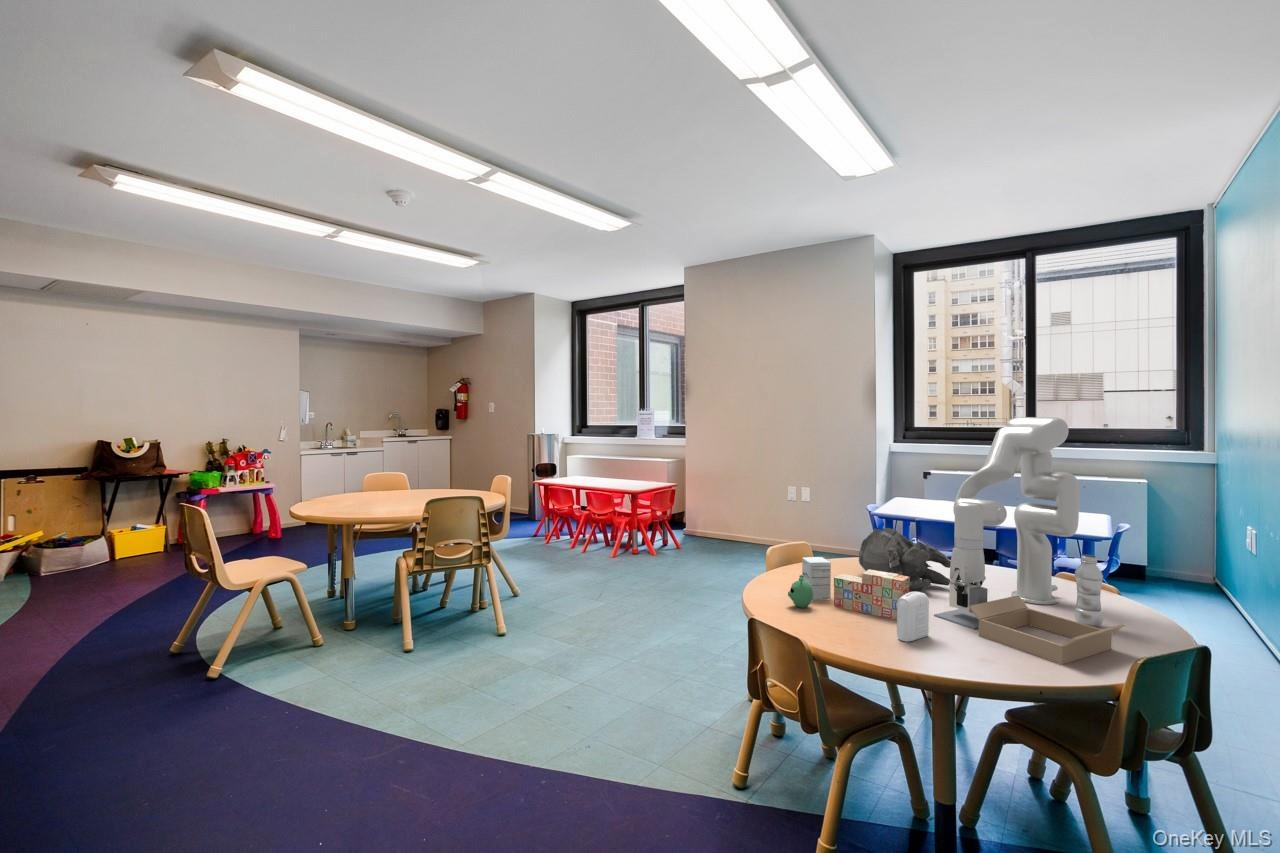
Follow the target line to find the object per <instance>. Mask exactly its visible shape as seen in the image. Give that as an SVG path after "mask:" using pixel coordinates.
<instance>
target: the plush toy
mask: <svg viewBox="0 0 1280 853" xmlns="http://www.w3.org/2000/svg"><path fill="white" fill-rule="evenodd" d="M872 529H873V530H872V532H870V533H869V534H868V535H867V537H866V538H864V539H863V540H862V543H861V544H860V549H859V552H858V562H859V565H860V566H861V567H862V569H863V570H864V572H866V571H867V570H869V569H870V570H875V571H881V572H887V573H895V574H899V575H903V576H908V577H910V580H909V587H910V589H909V590H911V591H912V590H913V591H912V592H921V591H923V590H925V589H927V588H930V587H931V584H933V585H940V586H950V582H951V580H950V578H948V577H946V576H945V575H943V573H941V572H939V571H936V570H934V569H931V568H932V566H931V565H930V564H928V562H933V563H938V564H941V565H942V566H943V567H944V568H949V569H950V564H951V559H950V558H948V557H947V556H946V554H944V553H942V552H941V551H940V550H938V549H937V548H935V547H934V546H931V545H929V544H924V543H922V542H920V541H918V540H917V542H913V541H912V540H911V539H908V538H907V537H906V536H905V535H903V534H901V533H900V532H899V531H897V530H895V529H894V528H891V527H883V528H881V529H878V528H872Z"/></svg>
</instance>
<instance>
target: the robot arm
mask: <svg viewBox="0 0 1280 853" xmlns="http://www.w3.org/2000/svg"><path fill="white" fill-rule="evenodd" d="M1068 435H1069V425H1068V423H1067V422H1066V421H1065V420H1064V419H1062V418H1060V417H1049V416H1048V417H1042V416H1041V417H1039V416H1038V417H1037V416H1036V417H1035V416H1034V417H1033V416H1031V417H1030V416H1026V417H1025V416H1023V417H1015V418H1011V419H1009V420H1008V421H1007V422H1006V426H1004V427H1001V428H999V429H998V430H997V431H996V433H995V435H994V438H993V441H992V443H991V446H990V449H989V451H988V454H987V457H986V459H985V462H984V464H983V466H982V467H981V468H979V470H977V471H975V472H973V473H972V474H971V475H970V476H969V477H968V478H967V479H965V480H964V481H963V482H962V484H961V485H960V487H959V489H958V491H957V494H956V496H955V500H954V502H953V511H952V512H953V514H954V535H953V536H954V546H953V548H952V553H951V557H950V558H951V559H950V561H951V564H950V568H949V579H950V581H951V582H950V584H951V585H952V586H953V587H954V588H955V591H956V592H957V605H959V606H962V607H965V608H966V607H968V594H966V591H967V585H968V584H973V585H976V586H980V587H983V583H984V581H986V576H985V574H986V566H985V564H986V562H985V554H984V526H986V527H997V526H999V525H1001V524H1003V523H1004V522H1005V520H1006V519H1007V516H1008V514H1007V513H1008V512H1007V508H1006V507H1005V505H1003V504H1002V503H1001V502H998V501H995V500H990V499H989V500H988V499H983V498H982V499H981V498H975V497H976V496H977V495H978V493H979V492H981V491H982V490H984V489H986V488H987V487H990V486H994V485H996V484H1000V483H1003V482H1006V481H1009V480H1011V479H1012V478H1013V477H1014V476H1015V474H1016V471H1017V468H1018V466H1019V462H1020V463H1021V464H1020V492H1021V494H1022V495H1023V496H1024V497H1026V498H1029V499H1034V500H1043V501H1049V502H1050V501H1051V502H1056V505H1054V504H1047V503H1046V504H1045V503H1039V502H1022V503H1020V504H1019V505H1017V506H1016V507H1015V509H1014V512H1013V517H1014V519H1013V520H1014V525H1015V530H1016V537H1017V538H1016V540H1017V542H1016V544H1017V549H1016V550H1017V551H1016V552H1017V553H1016V554H1017V555H1016V556H1017V558H1016V560H1017V561H1016V564H1017V566H1016V573H1017V574H1016V590H1013V591H1011V597H1013V596H1018V595H1019V597H1020V598H1021V599H1022V601H1024V603H1027V604H1028V603H1030V604H1035V605H1055V604H1056V603H1058V597H1056V596H1055V595H1053V594H1052V593H1053V592H1056V591H1058V586H1057V585H1056V584H1052V575H1053V573H1052V572H1053V568H1052V567H1053V566H1052V565H1053V559H1052V558H1053V557H1052V556H1053V549H1052V548H1053V547H1052V544H1051V542H1050V540H1049V539H1048V537H1047V535H1051V536H1055V537H1062V538H1063V537H1064V538H1068V537H1069V538H1070V537H1072V536H1074V535H1076V533H1077V531H1078V527H1079V518H1080V484H1079V481H1078V479H1077V477H1076V476H1075V475H1074V474H1072V473H1070V472H1067V471H1056V470H1055V471H1054V470H1053V455H1052V453H1051V451H1052V450H1053V449H1055V448H1057V447H1059V446H1061V445H1062V444H1063V443H1065V441H1066V440H1067V439H1068ZM950 584H949V585H950ZM960 584H962V585H963V588H962V587H961V585H960Z"/></svg>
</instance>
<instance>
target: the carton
mask: <svg viewBox="0 0 1280 853" xmlns="http://www.w3.org/2000/svg"><path fill="white" fill-rule="evenodd" d="M969 608H970V609H971V611H972V612H973V614H974V615H975V616H976V618H977V619H978V620H979V628H978V637H981V636H982V638H984V639H988V640H990V639H991V640H990V641H993V642H997V643H999V644H1001V643H1002V645H1005V646H1008V647H1010V646H1011V648H1013V647H1014V648H1013V649H1016V648H1018V649H1017V650H1019V649H1020V650H1019V651H1022V650H1023V651H1022V652H1024V651H1026V652H1025V653H1027V652H1029V653H1028V654H1030V653H1032V654H1031V655H1033V654H1035V655H1034V656H1036V655H1038V656H1037V657H1039V656H1041V657H1040V658H1042V657H1044V658H1043V659H1045V658H1046V659H1045V660H1047V659H1049V660H1048V661H1050V660H1051V662H1053V661H1054V662H1053V663H1056V662H1057V664H1059V663H1060V664H1059V665H1064V664H1065V663H1066V664H1068V663H1071V662H1074V661H1078V660H1082V659H1084V658H1088V657H1090V656H1094V655H1097V654H1101V653H1104V652H1107V651H1110V650H1112V642H1113V640H1112V638H1113V637H1112V635H1113V633H1115V632H1117V631H1118V630H1120V629H1122V628H1124V627H1125V626H1126V624H1125V623H1121V624H1117V625H1113V626H1110V627H1105V628H1103V629H1102V628H1099V627H1094V626H1089V625H1085V624H1082V623H1078V622H1077V621H1076V620H1075V621H1074V620H1071V619H1067V618H1065V617H1060V616H1056V615H1053V614H1049V613H1046V612H1043V611H1038V610H1035V609H1032V608H1029V607H1028V605H1027V604H1026V602H1023V601H1022V599H1021V598H1020V597H1019V595H1018V596H1013V597H1012V596H1010V597H1005V598H999V599H995V600H991V601H987V602H985V603H980V604H976V605H971V606H969ZM1027 624H1029V625H1027ZM1023 625H1025V626H1031V625H1032V626H1031V627H1034V626H1036V627H1035V628H1037V627H1039V628H1038V629H1041V628H1042V629H1041V630H1044V629H1045V631H1047V630H1048V632H1050V631H1051V632H1050V633H1054V632H1055V633H1054V634H1057V633H1058V634H1057V635H1060V634H1061V635H1060V636H1063V635H1064V636H1063V637H1067V638H1071V639H1069V640H1068V641H1066V642H1064V643H1062V644H1059V643H1057V642H1054V641H1050V640H1047V639H1044V638H1041V637H1038V636H1035V635H1032V634H1029V633H1025V632H1023V631H1020V630H1016V628H1015V627H1017V628H1020V627H1019V626H1021V627H1024V626H1023ZM1012 628H1013V629H1012Z"/></svg>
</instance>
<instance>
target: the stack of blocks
mask: <svg viewBox="0 0 1280 853" xmlns="http://www.w3.org/2000/svg"><path fill="white" fill-rule="evenodd" d="M909 580H910V577H908V576H903V575H899V574H895V573H887V572H881V571H875V570H870V569H869V570H867V571H864V572H862V574H861V577H860V576H855V575H850V574H846V573H845V574H844V573H840V574H838V575H836V576H835V577H833V606H834V607H839V608H843V609H846V610H852V611H856V612H859V613H866V614H868V613H869V615H873V616H877V617H878V616H879V617H883V618H887V619H891V618H892V619H891V620H895V619H896V621H897V603H898V600H899V599H900V598H901V597H902V596H903V595H905V594H907V593H910V592H911V591H910V587H909Z"/></svg>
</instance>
